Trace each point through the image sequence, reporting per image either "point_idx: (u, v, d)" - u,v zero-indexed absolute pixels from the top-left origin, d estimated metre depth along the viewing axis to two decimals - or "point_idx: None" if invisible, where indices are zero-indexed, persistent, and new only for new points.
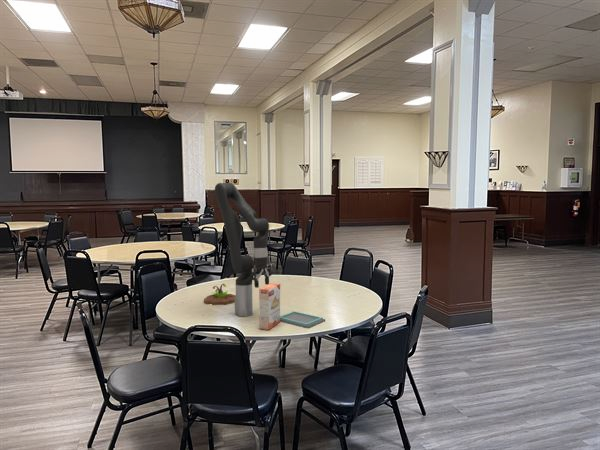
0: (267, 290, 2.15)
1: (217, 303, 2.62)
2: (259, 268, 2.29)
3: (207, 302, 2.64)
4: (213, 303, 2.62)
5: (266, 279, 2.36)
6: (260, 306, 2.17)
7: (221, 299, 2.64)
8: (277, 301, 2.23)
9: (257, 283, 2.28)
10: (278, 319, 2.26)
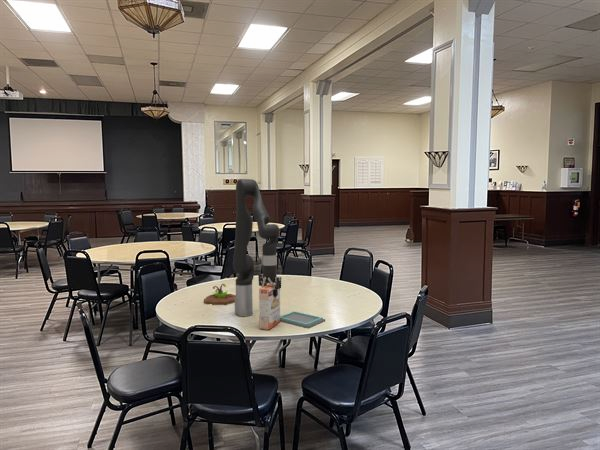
0: (267, 290, 2.15)
1: (217, 303, 2.62)
2: None
3: (207, 302, 2.64)
4: (213, 303, 2.62)
5: None
6: (260, 306, 2.17)
7: (221, 299, 2.64)
8: (277, 301, 2.23)
9: None
10: (278, 319, 2.26)
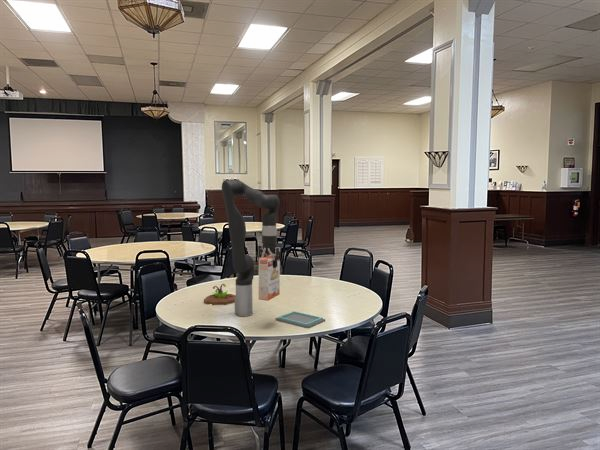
0: (267, 260, 2.13)
1: (217, 303, 2.62)
2: None
3: (207, 302, 2.64)
4: (213, 303, 2.62)
5: None
6: (259, 276, 2.15)
7: (221, 299, 2.64)
8: (276, 273, 2.22)
9: None
10: (278, 291, 2.25)
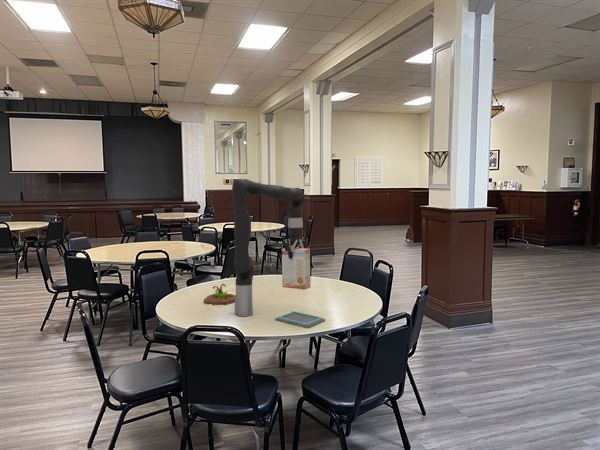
0: (308, 249, 2.25)
1: (217, 303, 2.62)
2: None
3: (207, 302, 2.64)
4: (213, 303, 2.62)
5: None
6: (305, 267, 2.22)
7: (221, 299, 2.64)
8: None
9: None
10: None
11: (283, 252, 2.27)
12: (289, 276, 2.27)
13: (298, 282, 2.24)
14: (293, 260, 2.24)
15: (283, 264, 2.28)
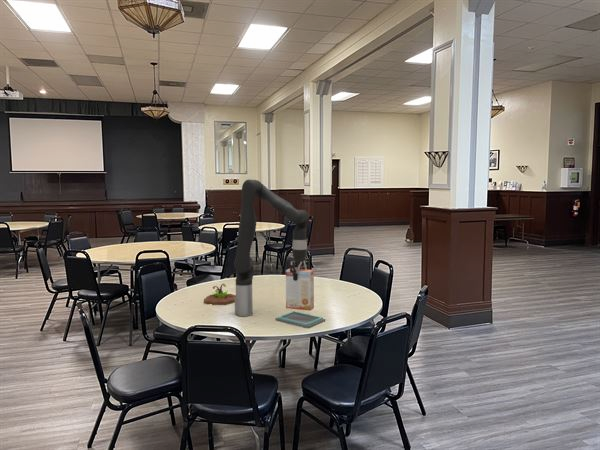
0: (313, 271, 2.28)
1: (217, 303, 2.62)
2: None
3: (207, 302, 2.64)
4: (213, 303, 2.62)
5: None
6: (310, 288, 2.25)
7: (221, 299, 2.64)
8: None
9: None
10: None
11: (287, 273, 2.29)
12: (293, 297, 2.28)
13: (303, 303, 2.27)
14: (298, 281, 2.27)
15: (287, 285, 2.29)
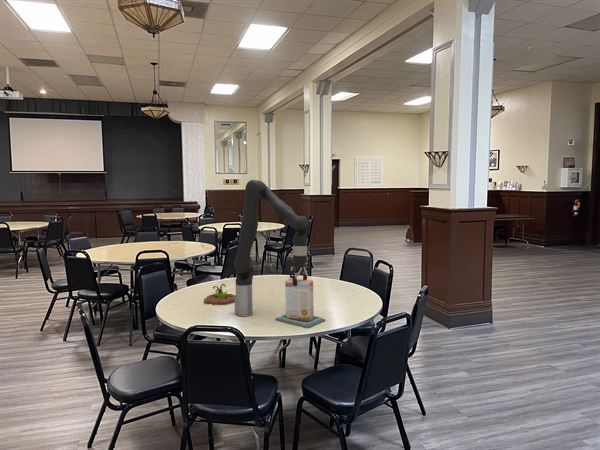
0: (312, 281, 2.28)
1: (217, 303, 2.62)
2: None
3: (207, 302, 2.64)
4: (213, 303, 2.62)
5: None
6: (310, 299, 2.25)
7: (221, 299, 2.64)
8: None
9: None
10: None
11: (287, 284, 2.29)
12: (293, 308, 2.29)
13: (303, 314, 2.27)
14: (297, 292, 2.27)
15: (286, 296, 2.30)
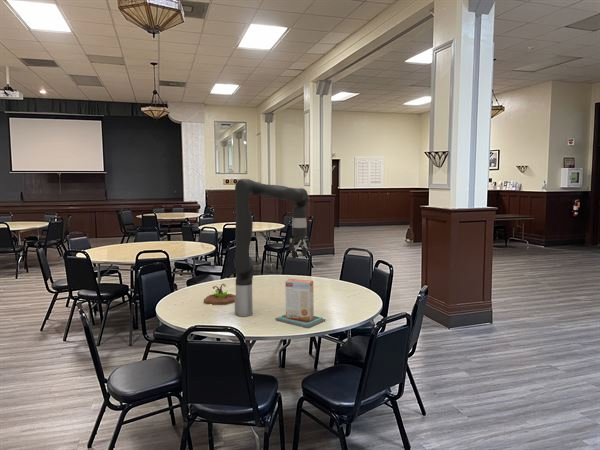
0: (312, 281, 2.28)
1: (217, 303, 2.62)
2: None
3: (207, 302, 2.64)
4: (213, 303, 2.62)
5: None
6: (310, 299, 2.26)
7: (221, 299, 2.64)
8: None
9: None
10: None
11: (287, 284, 2.29)
12: (293, 308, 2.29)
13: (303, 314, 2.27)
14: (297, 292, 2.27)
15: (287, 296, 2.30)
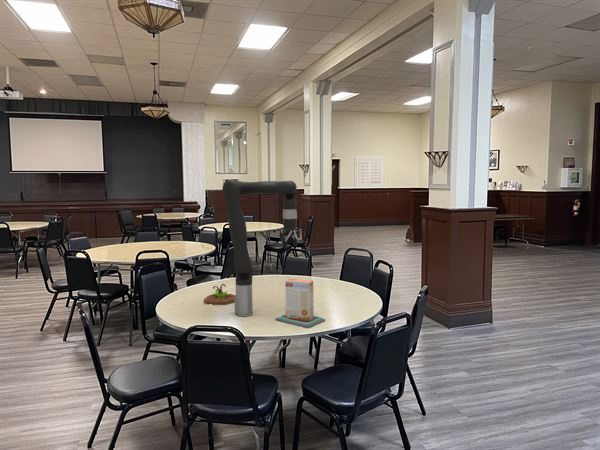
0: (312, 281, 2.28)
1: (218, 303, 2.62)
2: None
3: (207, 302, 2.64)
4: (213, 303, 2.62)
5: None
6: (310, 299, 2.26)
7: (221, 299, 2.64)
8: None
9: None
10: None
11: (287, 284, 2.29)
12: (293, 308, 2.29)
13: (303, 314, 2.27)
14: (297, 292, 2.27)
15: (287, 296, 2.30)
